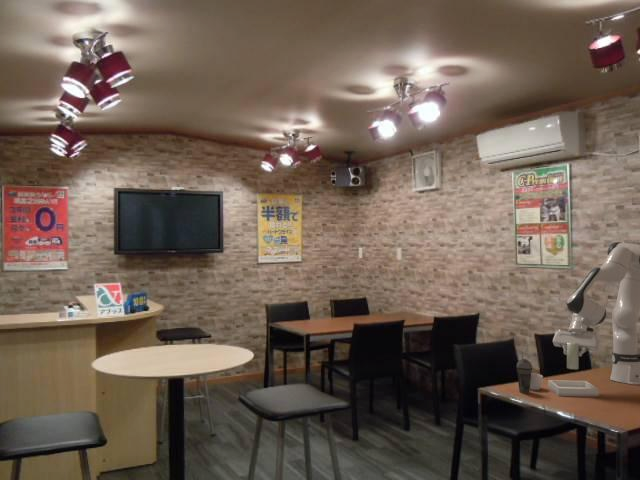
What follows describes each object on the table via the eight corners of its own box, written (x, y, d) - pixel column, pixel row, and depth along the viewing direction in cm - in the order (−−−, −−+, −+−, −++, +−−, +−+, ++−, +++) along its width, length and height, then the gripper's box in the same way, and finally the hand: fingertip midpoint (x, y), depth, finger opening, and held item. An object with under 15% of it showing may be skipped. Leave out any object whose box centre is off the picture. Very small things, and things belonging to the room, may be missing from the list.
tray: (586, 388, 269) (586, 381, 269) (599, 396, 253) (599, 389, 253) (548, 387, 271) (548, 380, 271) (558, 395, 255) (558, 388, 255)
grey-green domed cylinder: (576, 367, 264) (576, 342, 264) (579, 369, 259) (580, 344, 259) (565, 366, 265) (565, 341, 265) (568, 369, 260) (569, 343, 260)
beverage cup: (533, 394, 257) (533, 351, 258) (517, 393, 259) (517, 351, 259) (531, 390, 264) (530, 348, 265) (515, 389, 266) (515, 348, 266)
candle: (521, 389, 267) (521, 376, 267) (524, 385, 275) (524, 372, 275) (541, 391, 263) (541, 378, 263) (543, 387, 271) (543, 374, 271)
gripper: (554, 325, 274) (548, 347, 266) (599, 329, 261) (594, 353, 253) (557, 333, 277) (551, 355, 270) (601, 338, 264) (596, 361, 257)
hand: (572, 354), depth 262 cm, fingers closed on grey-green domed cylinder, 5 cm apart
